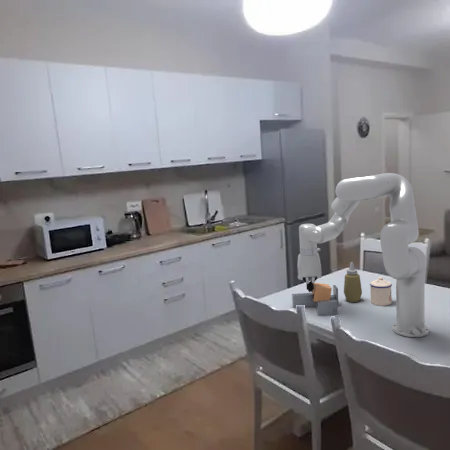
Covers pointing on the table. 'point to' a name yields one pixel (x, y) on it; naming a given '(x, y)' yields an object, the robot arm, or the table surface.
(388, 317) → the table surface
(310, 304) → the rail
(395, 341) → the table surface
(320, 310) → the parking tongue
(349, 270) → the squeeze bottle
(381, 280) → the teacup with lid
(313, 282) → the robot arm
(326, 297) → the block
